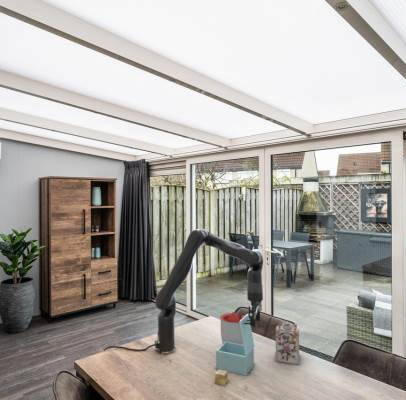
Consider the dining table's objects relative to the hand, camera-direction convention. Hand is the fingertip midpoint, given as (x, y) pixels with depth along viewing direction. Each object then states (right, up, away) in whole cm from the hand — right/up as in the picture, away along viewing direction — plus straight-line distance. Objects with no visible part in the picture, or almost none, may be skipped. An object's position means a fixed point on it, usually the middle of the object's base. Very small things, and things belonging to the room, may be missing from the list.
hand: (255, 323), depth 162 cm
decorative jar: (+20, -24, +12) cm, 33 cm away
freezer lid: (-4, -6, +2) cm, 8 cm away
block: (-18, -23, -10) cm, 31 cm away
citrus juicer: (-6, -24, +28) cm, 38 cm away
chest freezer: (-9, -24, +5) cm, 26 cm away
